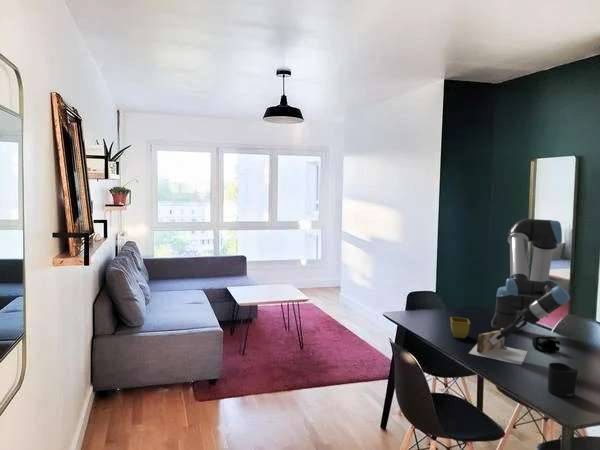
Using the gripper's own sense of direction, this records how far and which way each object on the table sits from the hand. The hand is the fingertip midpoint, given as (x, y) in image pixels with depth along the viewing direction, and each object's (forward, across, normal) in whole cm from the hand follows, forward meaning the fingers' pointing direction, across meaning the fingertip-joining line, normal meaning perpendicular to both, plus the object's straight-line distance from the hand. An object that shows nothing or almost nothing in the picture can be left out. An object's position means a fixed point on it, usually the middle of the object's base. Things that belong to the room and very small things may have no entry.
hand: (491, 342), depth 215 cm
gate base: (+2, +4, -6) cm, 7 cm away
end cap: (-10, +22, -19) cm, 31 cm away
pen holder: (-17, -30, -25) cm, 42 cm away
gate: (+4, +4, -3) cm, 6 cm away
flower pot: (+17, +17, +9) cm, 25 cm away
